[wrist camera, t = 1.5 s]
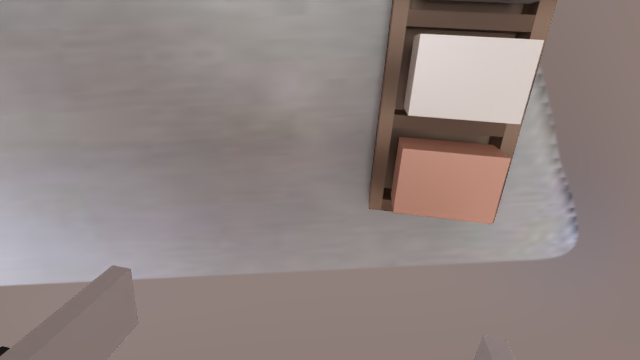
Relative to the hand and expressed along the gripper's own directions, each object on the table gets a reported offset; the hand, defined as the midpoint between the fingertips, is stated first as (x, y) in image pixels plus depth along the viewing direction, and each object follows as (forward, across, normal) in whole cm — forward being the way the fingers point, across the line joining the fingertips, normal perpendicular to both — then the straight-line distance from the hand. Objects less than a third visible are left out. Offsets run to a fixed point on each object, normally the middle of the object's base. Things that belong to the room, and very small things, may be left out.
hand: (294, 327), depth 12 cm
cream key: (+16, +7, +9) cm, 20 cm away
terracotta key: (+16, +8, +2) cm, 18 cm away
